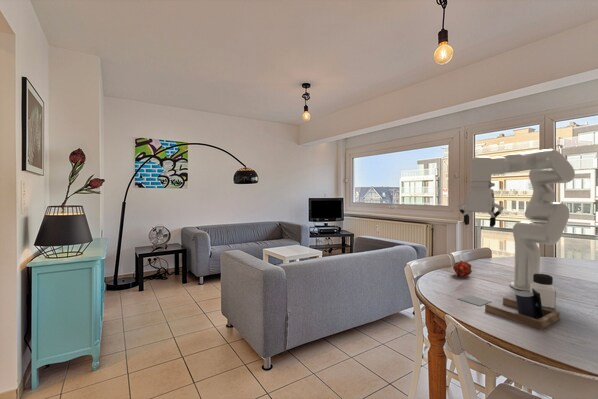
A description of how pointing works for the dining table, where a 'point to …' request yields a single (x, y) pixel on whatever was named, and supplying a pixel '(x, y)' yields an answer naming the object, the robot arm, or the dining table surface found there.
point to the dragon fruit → (462, 268)
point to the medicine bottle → (544, 289)
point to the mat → (474, 300)
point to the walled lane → (537, 323)
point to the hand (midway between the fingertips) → (479, 225)
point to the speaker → (529, 303)
